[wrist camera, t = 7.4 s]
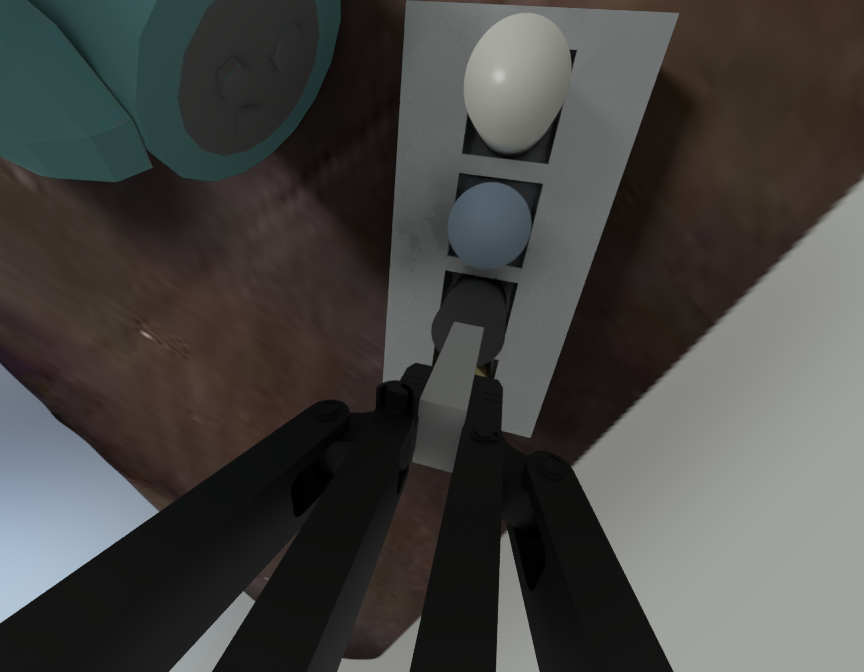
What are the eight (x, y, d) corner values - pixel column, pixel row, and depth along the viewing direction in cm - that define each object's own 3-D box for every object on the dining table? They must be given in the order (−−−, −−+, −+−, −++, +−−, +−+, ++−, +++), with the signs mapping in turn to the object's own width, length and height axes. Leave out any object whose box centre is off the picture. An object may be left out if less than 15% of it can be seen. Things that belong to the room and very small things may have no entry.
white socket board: (398, 374, 32) (381, 400, 28) (426, 37, 20) (406, 0, 16) (527, 404, 30) (530, 437, 26) (642, 51, 18) (679, 13, 14)
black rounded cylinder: (445, 323, 25) (427, 358, 20) (453, 269, 23) (436, 292, 18) (499, 334, 24) (496, 373, 19) (512, 279, 23) (512, 307, 17)
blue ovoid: (458, 245, 23) (442, 261, 18) (468, 180, 21) (454, 176, 16) (517, 255, 23) (519, 275, 17) (533, 188, 21) (541, 188, 15)
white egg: (471, 151, 20) (456, 137, 15) (484, 63, 18) (473, 9, 13) (541, 160, 19) (553, 148, 14) (563, 69, 17) (586, 15, 12)
